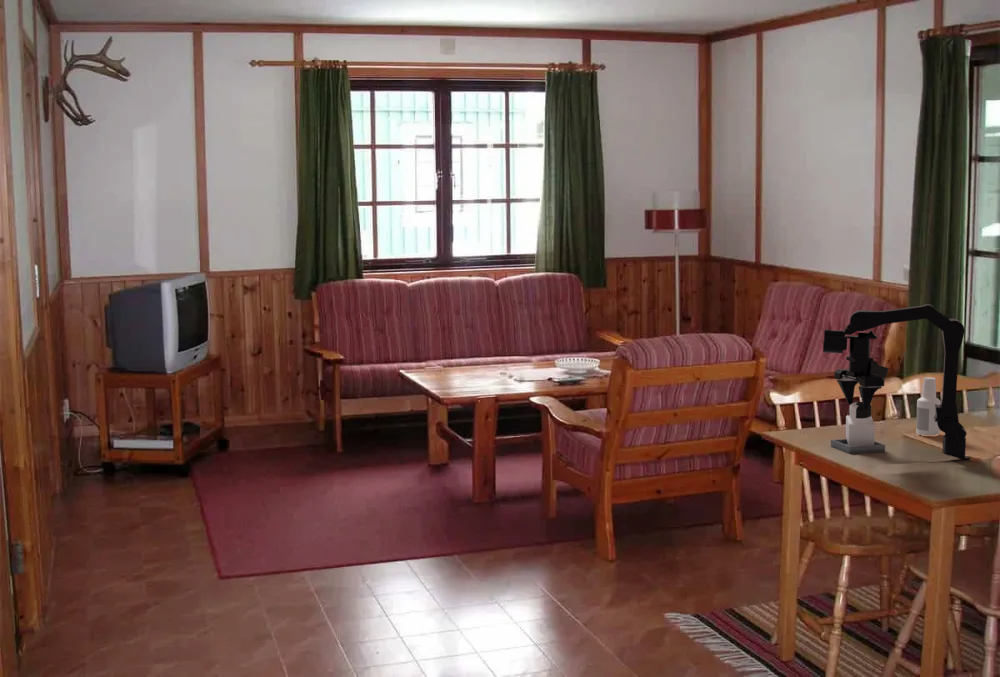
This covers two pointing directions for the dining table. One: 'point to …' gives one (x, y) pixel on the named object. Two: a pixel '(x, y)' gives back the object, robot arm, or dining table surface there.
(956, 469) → the dining table surface
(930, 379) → the spray bottle
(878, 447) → the tray
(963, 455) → the robot arm
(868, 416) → the medicine bottle
